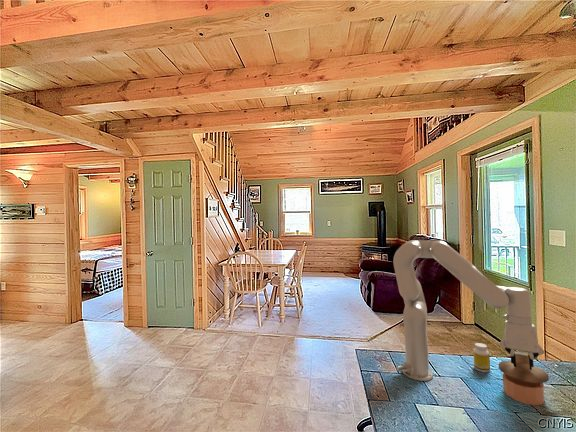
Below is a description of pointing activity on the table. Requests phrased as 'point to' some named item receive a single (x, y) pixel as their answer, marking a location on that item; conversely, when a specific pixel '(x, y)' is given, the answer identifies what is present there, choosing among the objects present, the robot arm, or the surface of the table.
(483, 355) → the pill bottle
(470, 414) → the table surface
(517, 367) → the walnut lid
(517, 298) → the robot arm
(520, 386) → the terracotta bowl
